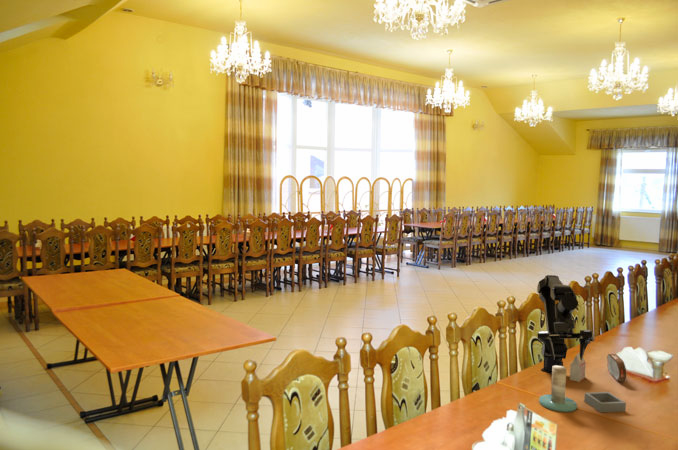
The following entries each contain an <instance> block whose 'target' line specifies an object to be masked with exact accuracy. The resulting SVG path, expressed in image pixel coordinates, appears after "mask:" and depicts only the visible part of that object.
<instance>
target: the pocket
mask: <svg viewBox="0 0 678 450" xmlns="http://www.w3.org/2000/svg"><path fill="white" fill-rule="evenodd" d="M583 402H585V403H586V404H588V405H589V406H590V407H592V408H593V407H594V409H595V410H596V411H598V412H599V413H616V412H618V413H619V412H626V407H627V406H626V405H627V404H626V402H625V401H624V400H623V399H620V398H619V397H617V396H616V395H614V394H612V393H611V392H609V391H599V392H597V391H596V392H595V391H594V392H584V401H583Z"/></svg>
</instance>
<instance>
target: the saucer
mask: <svg viewBox="0 0 678 450" xmlns="http://www.w3.org/2000/svg"><path fill="white" fill-rule="evenodd" d="M538 399H539V400H538V403H539V404H540V405H541V406H542V407H543V408H546V409H548V410H551V411H554V412H558V413H559V412H560V413H561V412H562V413H571V412H575V411H576V410H577V408H578V403H577V402H576V401H575V400H574V399H572V398H570V397H567V396H565V403H564V404H556V403H553V402H552V401H551V394H542V395H540V396H539V398H538Z"/></svg>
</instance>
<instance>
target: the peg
mask: <svg viewBox="0 0 678 450" xmlns="http://www.w3.org/2000/svg"><path fill="white" fill-rule="evenodd" d="M566 383H567V367H565V366H564V365H563V366H558V365H555V366H552V374H551V389H550V390H551V401H552V402H553V403H556V404H564V403H565V397H566Z"/></svg>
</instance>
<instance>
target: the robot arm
mask: <svg viewBox="0 0 678 450" xmlns="http://www.w3.org/2000/svg"><path fill="white" fill-rule="evenodd" d="M536 292H537V293H538V296H539V299H540V300H541V302H542V303H543V304H544V316H545V324H546V330H545V331H538V332H537V334H536V336H537V340H538V341H540V342H541V343H542V346H541V348H540V349H541V350H540V351H541V352H540V353H541V356H542V357H543V367H542V368H541V369H540V370H541V371H543V372H546V373H549V374H551V375H552V366H555V365H558V366H563V367H564V362H563V360H566V358H567V353H568V346H567V343H566V342H565V340H570V339H571V340H573V339H574V340H575V339H579V353H580V360H582V358H584V355H585V352H586V349H587V347H588V346H589V344H592V343H591V342H594V341H595V335H594V333H593V331H592V330H590V329H583V330H579V332H574V329H576V322H575V319H573V313H574V311H575V310H576V309H577V308H578V306H579V301H578V298H577V295H576V294H575V291H574V290H573V288H572V287H571V286H569V285H568V284H563V282H562V281H561V280H560V278H559V276H557V275H554V274H553V275H552V274H550V275H549V274H547V275H545V277H544V278H543V279H540V280H539V281H538V284H537V288H536ZM556 301H558V302H557V303H556Z"/></svg>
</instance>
